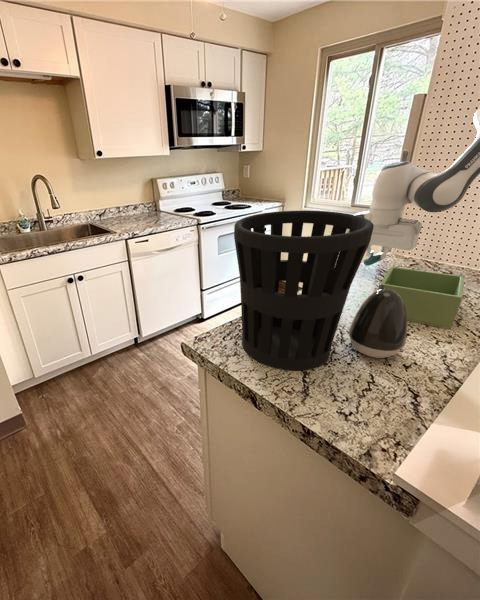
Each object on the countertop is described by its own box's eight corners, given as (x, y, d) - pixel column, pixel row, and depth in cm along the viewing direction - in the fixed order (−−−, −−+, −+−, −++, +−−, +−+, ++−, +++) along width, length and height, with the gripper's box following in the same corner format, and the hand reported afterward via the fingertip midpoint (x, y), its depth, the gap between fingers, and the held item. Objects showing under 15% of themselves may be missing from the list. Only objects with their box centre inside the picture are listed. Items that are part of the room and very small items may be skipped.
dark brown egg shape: (393, 341, 73) (411, 282, 66) (406, 368, 64) (428, 303, 58) (343, 335, 77) (355, 278, 70) (348, 359, 68) (363, 297, 62)
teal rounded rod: (377, 254, 110) (384, 250, 108) (382, 260, 109) (389, 256, 107) (360, 261, 105) (366, 257, 103) (365, 267, 105) (371, 263, 103)
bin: (384, 292, 95) (391, 266, 91) (453, 305, 85) (464, 276, 81) (372, 312, 85) (380, 284, 81) (450, 329, 75) (462, 297, 71)
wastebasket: (363, 345, 72) (396, 215, 60) (308, 397, 59) (335, 246, 47) (267, 311, 91) (276, 207, 78) (209, 345, 78) (209, 227, 65)
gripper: (428, 218, 93) (416, 261, 99) (357, 212, 110) (350, 249, 115) (418, 222, 91) (406, 266, 96) (346, 215, 107) (340, 253, 113)
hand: (375, 257), depth 106 cm, fingers closed on teal rounded rod, 2 cm apart
